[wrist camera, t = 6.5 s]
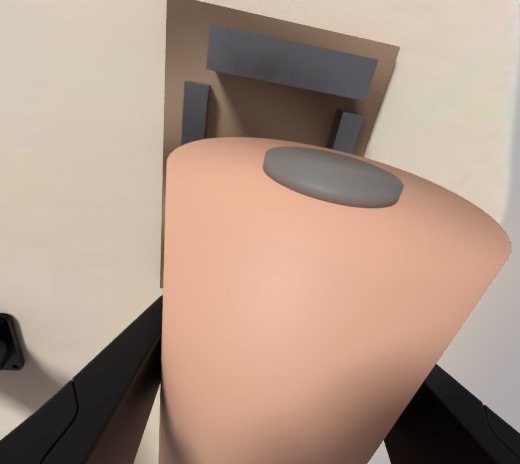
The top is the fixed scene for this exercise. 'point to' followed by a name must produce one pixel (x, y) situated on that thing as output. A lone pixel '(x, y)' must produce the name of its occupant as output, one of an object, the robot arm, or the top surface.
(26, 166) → the top surface
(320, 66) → the roll cradle
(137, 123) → the top surface
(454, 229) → the roll
